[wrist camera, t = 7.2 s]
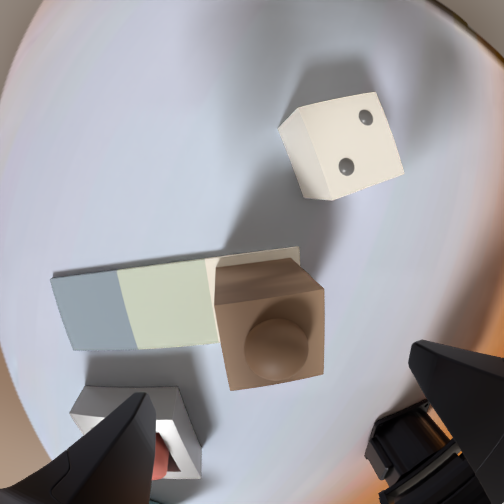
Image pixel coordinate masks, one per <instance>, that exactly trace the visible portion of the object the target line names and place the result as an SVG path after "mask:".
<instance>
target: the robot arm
mask: <svg viewBox="0 0 504 504" xmlns="http://www.w3.org/2000/svg"><path fill="white" fill-rule="evenodd" d="M408 364H409V368H410V369H411V371H412V373H413V375H414V377H415V378H416V380H417V382H418V384H419V386H420V387H421V389H422V391H423V393H424V395H425V396H426V398H427V399H426V400H424V401H422V402H420V403H418V404H416V405H414V406H412V407H409V408H407V409H405V410H403V411H400V412H398V413H396V414H393V415H391V416H389V417H386V418H384V419H381V420H379V421H377V422H376V423H375V424H374V427H373V430H372V434H371V437H370V440H369V443H368V446H367V449H366V452H365V455H364V456H365V458H366V459H368V460H369V461H370V463H371V465H372V467H373V469H374V470H375V472H376V474H377V476H378V478H379V479H380V480H384V479H385V480H386V482H387V483H388V485H389V488H387V489H386V490H383V491H381V492H380V493H378V494H379V497H380V498H379V500H380V503H381V504H502V503H503V502H504V358H501V357H496V356H491V355H487V354H482V353H477V352H473V351H468V350H464V349H460V348H455V347H451V346H447V345H443V344H439V343H434V342H430V341H426V340H419V341H417V342H414V343H413V344H412V346H411V351H410V356H409V361H408ZM430 404H431V405H432V407H433V408H434V410H435V411H436V413H437V414H438V416H439V417H440V419H441V420H442V422H443V423H444V425H445V426H446V428H447V429H448V431H449V432H450V434H451V435H452V437H453V438H452V439H451V440H450V439H449V438H448V437H447V436H446V435H445V433H444V432H443V431H442V430H441V429H440V428H439V427H438V425H437V424H436V423H435V422H434V421H433V420H432V418H431V417H430V416H429V415H428V414H427V413H426V412H427V410H428V408H429V405H430ZM155 445H156V410H155V408H154V406H153V403H152V401H151V399H150V396H149V394H148V393H147V392H134V393H133V394H132V395H131V396H130V397H128V398H127V399H126V400H125V401H124V402H123V403H122V404H120V405H119V406H118V407H117V408H116V409H115V410H113V411H112V412H111V413H110V414H109V415H107V416H106V417H105V418H104V419H103V420H102V421H100V422H99V423H98V424H97V425H96V426H94V427H93V428H92V429H91V430H90V431H88V432H87V433H86V434H85V435H84V436H82V437H81V438H80V439H79V440H78V441H76V442H75V443H74V444H73V445H72V446H70V447H69V448H68V449H67V450H65V451H64V452H63V453H62V454H60V455H59V456H58V457H57V458H55V459H54V460H53V461H51V462H50V463H49V464H47V465H46V466H44V467H43V468H41V469H40V470H38V471H37V472H35V473H33V474H31V475H30V476H28V477H26V478H25V479H23V480H21V481H20V482H18V483H16V484H15V485H12V486H10V487H7V488H3V489H0V504H149V500H150V491H151V483H152V475H153V467H154V460H155ZM460 451H462V453H461V454H460V455H459V456H458V455H457V454H458V453H459V452H460Z"/></svg>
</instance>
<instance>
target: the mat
mask: <svg viewBox="0 0 504 504" xmlns="http://www.w3.org/2000/svg"><path fill="white" fill-rule="evenodd" d="M284 258H292V259H293V260H294V261H295V262H296V263H297V264H298V265H299V266H300V253H299V247H298V246H295V247H288V248H280V249H272V250H264V251H257V252H249V253H241V254H233V255H226V256H218V257H210V258H202V259H195V260H187V261H179V262H172V263H164V264H156V265H148V266H141V267H133V268H125V269H117V270H110V271H102V272H94V273H86V274H79V275H71V276H63V277H55V278H51V279H50V282H51V285H52V289H53V293H54V296H55V299H56V303H57V306H58V309H59V312H60V315H61V318H62V321H63V324H64V327H65V330H66V332H67V335H68V338H69V340H70V343H71V346H72V348H73V350H74V351H110V350H139V349H157V348H171V347H183V346H194V345H204V344H213V343H221V342H220V337H219V331H218V326H217V320H216V314H215V308H214V293H215V270H216V267H224V266H232V265H239V264H247V263H254V262H262V261H269V260H277V259H284Z"/></svg>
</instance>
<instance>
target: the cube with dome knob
mask: <svg viewBox="0 0 504 504" xmlns="http://www.w3.org/2000/svg"><path fill="white" fill-rule="evenodd" d="M214 308H215V314H216V320H217V326H218V331H219V337H220V342H221V347H222V353H223V358H224V363H225V368H226V373H227V378H228V382H229V387H230V391H234V390H241V389H249V388H255V387H262V386H268V385H274V384H279V383H285V382H290V381H295V380H300V379H304V378H309V377H313V376H318V375H322V374H323V371H324V326H325V311H324V288H323V287H322V286H320V285H319V284H318V283H317V282H316V281H315V280H314V279H313V278H312V277H311V276H310V275H309V274H308V273H307V272H306V271H305V270H304V269H302V268H301V267H300V266H299V265H298V264H297V263H296V262H295V261H294V260H293V259H292V258H284V259H277V260H269V261H262V262H254V263H247V264H239V265H232V266H224V267H216V270H215V293H214Z"/></svg>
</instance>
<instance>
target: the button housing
mask: <svg viewBox="0 0 504 504" xmlns="http://www.w3.org/2000/svg"><path fill="white" fill-rule="evenodd" d="M134 392H147V393H148V394H149V396H150V399H151V401H152V403H153V406H154V408H155V410H156V432H159V433H160V435H161V437H162V439H163V441H164V443H165V444H166V446H167V448H168V450H169V458H168V466H167V473H166V475H165V476H164V477H163V478H164V479H201V463H202V449H201V446H200V444H199V442H198V439H197V437H196V434H195V432H194V429H193V427H192V424H191V422H190V419H189V416H188V414H187V411H186V408H185V406H184V403H183V400H182V397H181V394H180V391H179V388H178V386H176V387H146V388H123V387H95V386H84V388H83V390H82V391H81V393H80V395H79V397H78V398H77V400H76V402H75V404H74V405H73V407H72V409H71V411H70V413H69V414H70V415H71V417H72V418H73V420H74V422H75V423H76V425H77V426H78V428H79V429H80V431H81V432H82V434H83V435H85V434H86V433H87V432H88V431H90V430H91V429H92V428H93V427H94V426H96V425H97V424H98V423H99V422H100V421H102V420H103V419H104V418H105V417H106V416H107V415H109V414H110V413H111V412H112V411H113V410H115V409H116V408H117V407H118V406H119V405H120V404H122V403H123V402H124V401H125V400H126V399H127V398H128V397H130V396H131V395H132V394H133V393H134Z"/></svg>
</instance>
